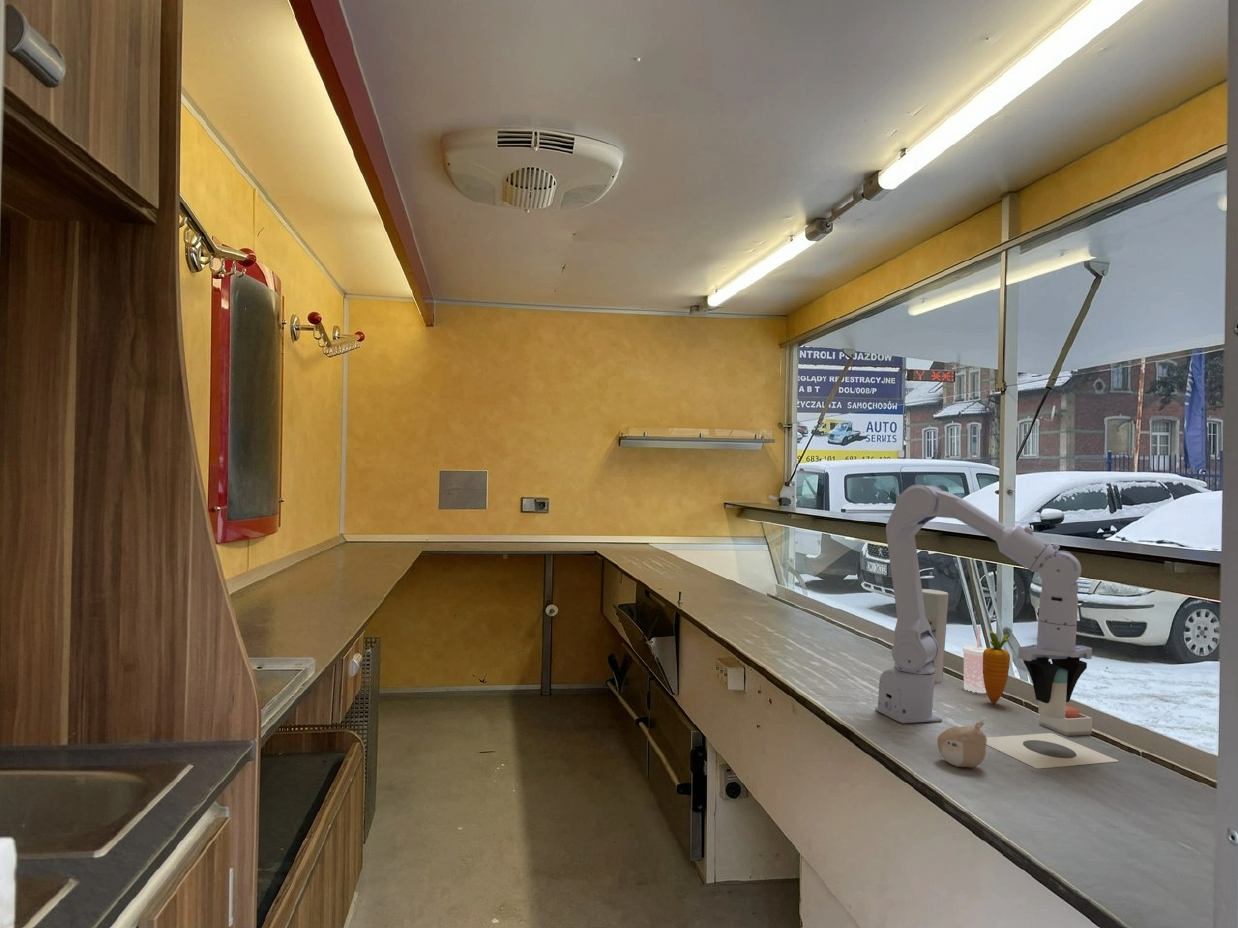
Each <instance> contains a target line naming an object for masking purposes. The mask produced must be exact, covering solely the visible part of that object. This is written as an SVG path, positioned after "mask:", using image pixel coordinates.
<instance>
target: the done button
mask: <svg viewBox="0 0 1238 928" xmlns="http://www.w3.org/2000/svg"><path fill="white" fill-rule="evenodd" d="M1079 713H1080V709H1079V708H1077V707H1075V706H1070V705H1067V704H1066V710H1065V718H1068V719H1069V718H1079Z"/></svg>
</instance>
